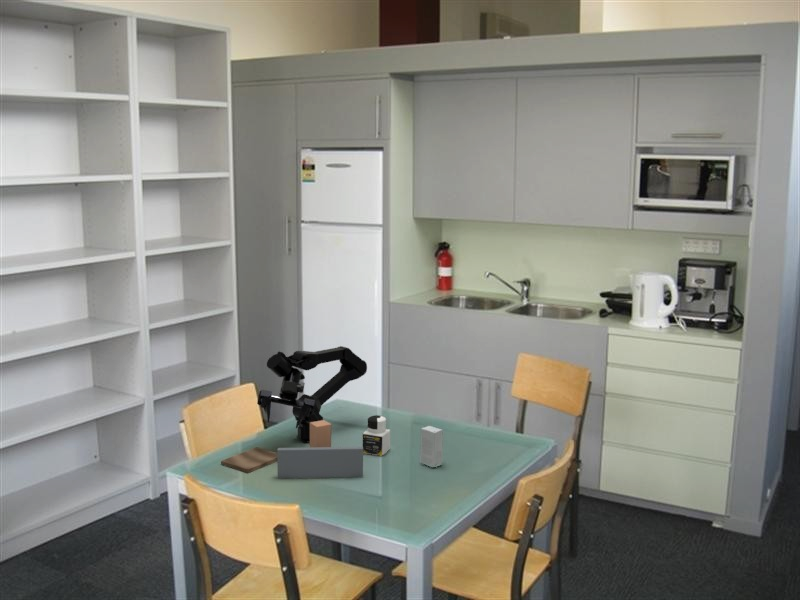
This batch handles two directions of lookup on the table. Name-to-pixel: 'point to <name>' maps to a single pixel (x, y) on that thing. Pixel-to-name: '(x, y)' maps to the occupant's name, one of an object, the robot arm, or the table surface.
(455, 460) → the table surface
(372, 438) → the medicine bottle
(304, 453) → the slate screen
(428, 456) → the skincare box
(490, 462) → the table surface
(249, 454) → the walnut board
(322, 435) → the terracotta block
